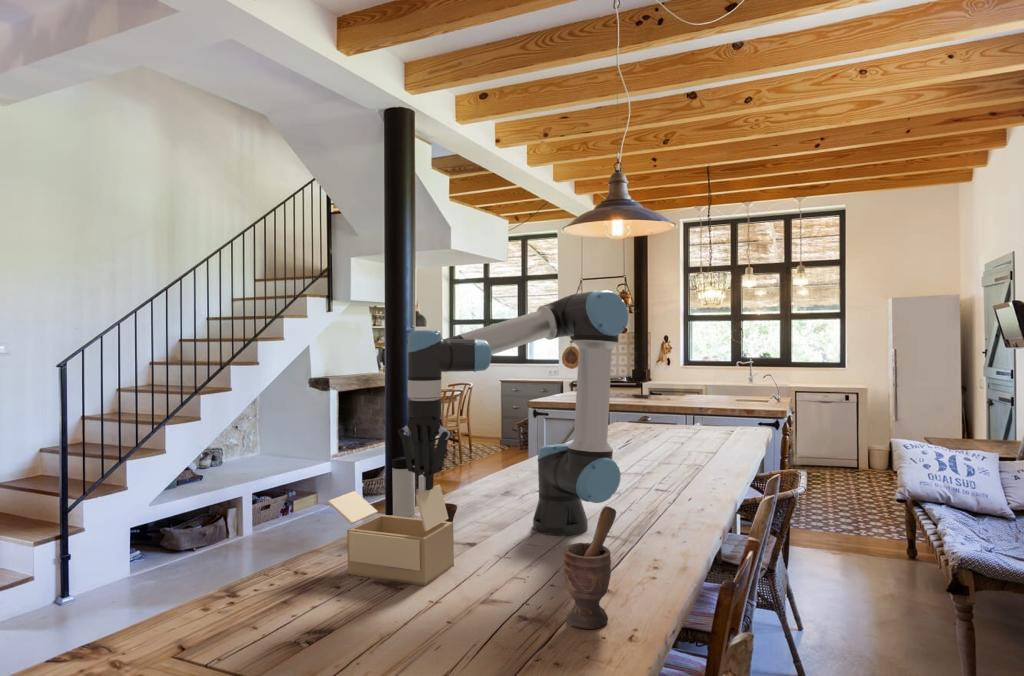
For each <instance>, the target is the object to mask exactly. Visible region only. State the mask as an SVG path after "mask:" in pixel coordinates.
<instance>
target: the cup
mask: <svg viewBox="0 0 1024 676" xmlns="http://www.w3.org/2000/svg"><path fill="white" fill-rule="evenodd" d="M445 506H446V510H447V514H448V518H449V519H447V520H445V522H453V523H454V518H455V515H456V513H457V510H458V505H456V504H454V503H449V502H447V503H446V502H445Z"/></svg>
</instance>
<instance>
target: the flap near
mask: <svg viewBox="0 0 1024 676" xmlns="http://www.w3.org/2000/svg"><path fill="white" fill-rule="evenodd" d="M415 500H416V503H417V506H418V510H419V511H418V512H419V514H420V517H421V518H420V519H422V523H423V527H424V531H427V530H429V529H431V528H433V527H435V526H436V525H438V524H440V523H442V522H444V521H445V520H447V519H449V518H448V514H447V510H446V506H445V503H446V502H445V499H444V496H443V491H442V487H441V484H437V485H435V486H434V485H433V489H431V490H425V491H423V492H421V493H419V492H418V493H417V494H416V493H415Z"/></svg>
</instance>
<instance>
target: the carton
mask: <svg viewBox="0 0 1024 676" xmlns="http://www.w3.org/2000/svg"><path fill="white" fill-rule="evenodd" d="M346 534H347V535H346V537H347V538H346V540H347V541H346V542H347V547H346V548H347V575H349V574H351V575H350V576H355V575H357V576H356V577H362V576H363V577H362V578H368V577H369V578H370V579H375V580H376V579H377V580H383V581H388V582H389V581H390V582H395V583H397V582H398V583H402V584H409V585H415V586H423V587H426V586H428V585H429V584H431V583H432V582H434V581H435V580H436V579H438V578H439V577H440V576H442V575H443V574H444V573H446V572H447V571H449V570H450V569H451V568H453V567H454V566H455V553H454V549H455V548H454V546H455V545H454V521H453V522H445V521H444V522H442V523H440V524H438V525H436V526H435V527H433V528H431V529H429V530H427V531H424V527H423V523H422V519H421V518H417V517H415V518H407V517H398V516H393V515H388V514H387V515H386V514H379V515H377V516H375V517H372V518H370V519H368V520H366V521H364V522H362V523H359V524H356V525H355V526H352V527H351V528H348V529H347V530H346Z"/></svg>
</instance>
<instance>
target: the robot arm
mask: <svg viewBox="0 0 1024 676" xmlns="http://www.w3.org/2000/svg"><path fill="white" fill-rule="evenodd" d="M628 310H629V309H628V307H627V304H626V303H625V301H624V300H623V299H622V297H621V296H620V295H619V294H617V293H616V292H614V291H611V290H597V289H596V290H594V291H588V292H581V293H580V292H579V293H573V294H570V295H567V296H564V297H562V298H560V299H557V300H554V301H553V302H549V303H547V304H544V305H540V306H539V307H537V309H536V311H533V312H529V313H526V314H523V315H520V316H517V317H513V318H510V319H506V320H503V321H500V322H497V323H493V324H490V325H487V326H484V327H480V328H476V329H474V330H470V331H467V332H463V333H459V334H458V335H454V336H450V337H446V338H443V337H442V336H443V335H442V332H441V331H439V330H429V329H428V330H426V329H425V330H411V331H410V332H409V334H408V338H407V350H406V353H407V397H408V399H409V400H408V401H407V417H408V420H407V423H406V425H404V427H402V428H400V429H397V433H398V435H399V437H400V439H401V443H402V447H403V452H404V456H405V458H406V463H407V468H408V471H410V472H413V473H415V490H418V493H421V492H423V491H425V490H431V489H433V487H434V475H436V474H438V473H439V472H441V471H442V469H443V465H444V460H445V455H446V450H447V446H448V441H449V440H450V438H451V436H452V434H453V431H451V430H447V429H446V428H445V427H443V426H444V425H443V421H442V418H441V417H442V400H441V399H439V398H441V397H442V373H447V372H450V373H451V372H456V373H457V372H474V373H476V372H480V371H481V372H482V371H486V370H487V369H488V368H489V367H490V365H491V362H492V355H495V354H499V353H501V352H504V351H508V350H512V349H514V348H516V347H520V346H523V345H526V344H529V343H533V342H536V341H538V340H539V341H540V340H541V339H546V340H554V339H557V338H563V337H573V343H574V344H575V345H576V347H578V361H577V378H576V380H577V381H576V396H575V411H574V412H575V413H574V414H575V415H574V433H573V440H572V441H571V442H569V443H556V444H549V445H542V446H540V447H539V449H538V454H537V469H538V471H537V472H538V473H537V475H538V502H537V505H536V508H535V511H534V516H533V519H532V529H534V530H535V531H536V532H538V533H540V534H545V535H550V536H551V535H552V536H572V535H577V534H581V533H584V532H585V531H587V530H588V526H589V524H588V518H587V514H586V511H585V508H584V505H583V502H587V503H589V502H590V503H593V504H601V503H604V502H606V501H609V500H610V499H611V498H612V496H613V495H615V493H616V492H617V491H618V489H619V487H620V484H621V478H622V475H621V470H620V467H619V466H618V464H617V462H616V461H615V460H613V454H614V453H613V452H614V450H613V448H612V446H611V445H610V444H609V443H608V436H609V434H608V433H609V412H610V411H609V410H610V395H611V393H610V392H611V391H610V390H611V375H612V374H611V372H612V357H613V355H612V352H613V350H614V348H615V347H616V346H618V345H619V335H620V334H621V333H623V332H624V330H625V329H626V328H627V327H628V322H629V311H628ZM437 436H438V440H437V441H436V439H437ZM436 442H437V444H436ZM435 445H436V449H435ZM582 501H583V502H582Z"/></svg>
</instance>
